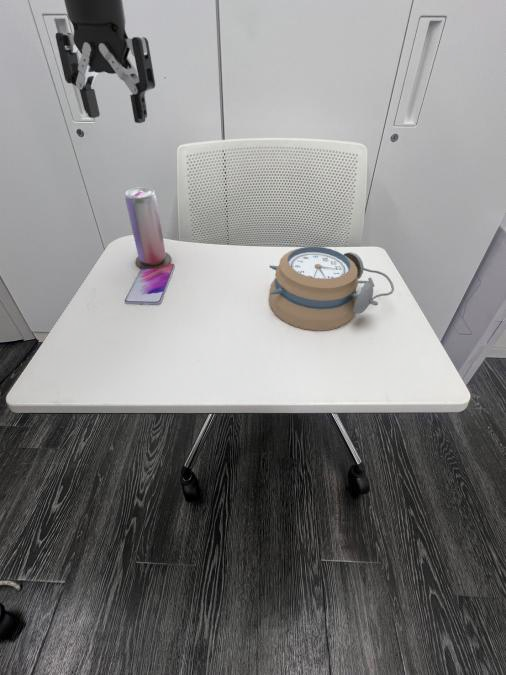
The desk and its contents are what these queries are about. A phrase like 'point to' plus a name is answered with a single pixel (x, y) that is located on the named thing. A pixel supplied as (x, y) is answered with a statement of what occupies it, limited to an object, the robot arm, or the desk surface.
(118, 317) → the desk surface
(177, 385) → the desk surface
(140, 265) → the coaster
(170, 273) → the smartphone
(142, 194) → the beverage can
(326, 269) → the alarm clock
